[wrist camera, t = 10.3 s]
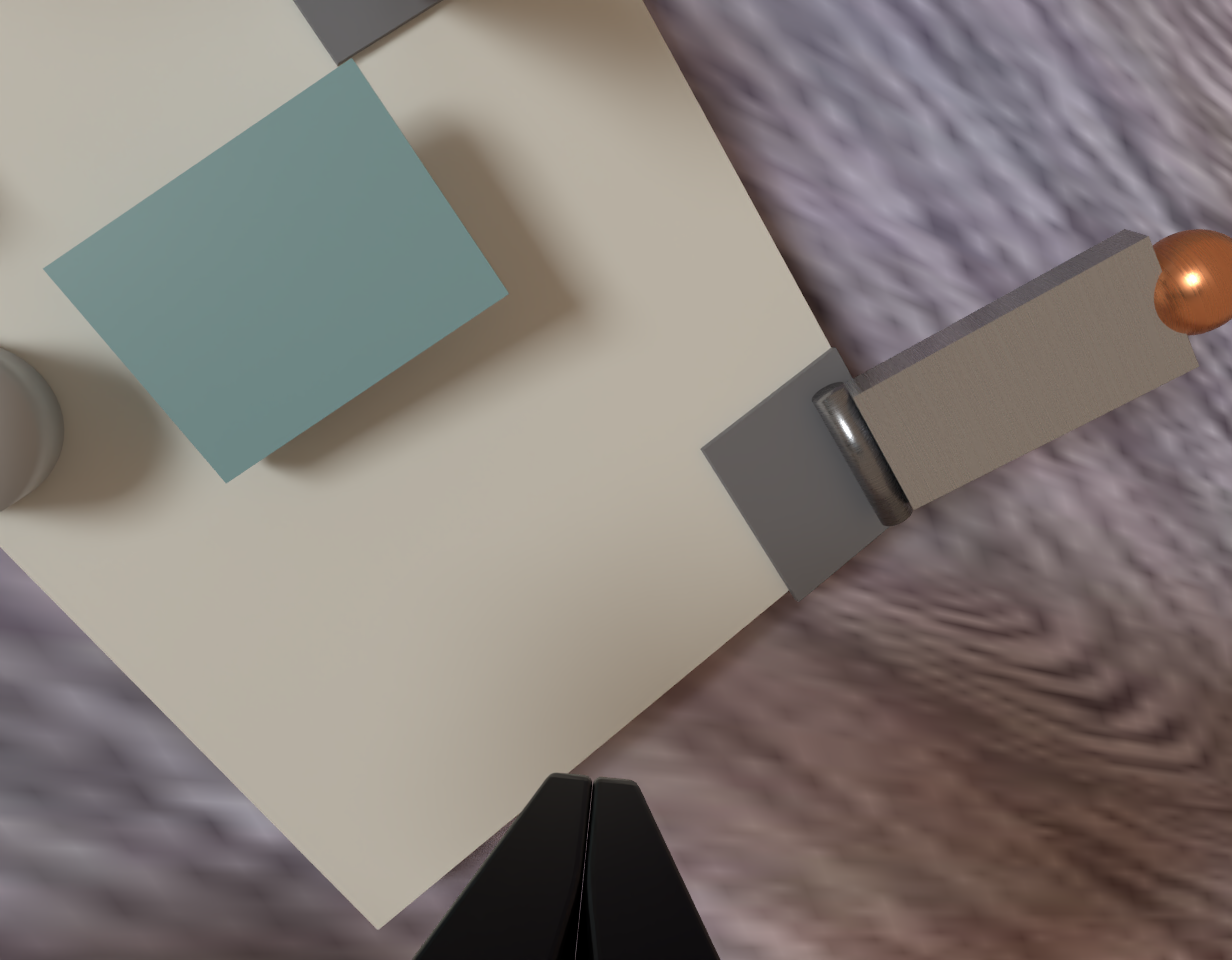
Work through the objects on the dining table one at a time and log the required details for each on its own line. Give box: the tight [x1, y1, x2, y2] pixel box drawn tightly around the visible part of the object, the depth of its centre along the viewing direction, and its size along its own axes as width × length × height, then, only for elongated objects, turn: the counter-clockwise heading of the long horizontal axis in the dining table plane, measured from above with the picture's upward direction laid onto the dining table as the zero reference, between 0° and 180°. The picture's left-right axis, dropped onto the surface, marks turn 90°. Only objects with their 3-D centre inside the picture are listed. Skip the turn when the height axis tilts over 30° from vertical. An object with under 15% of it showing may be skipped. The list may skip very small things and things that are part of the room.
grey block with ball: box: [812, 229, 1232, 526], centre depth 20 cm, size 2×4×9 cm
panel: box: [0, 0, 912, 930], centre depth 18 cm, size 16×20×3 cm
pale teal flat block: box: [43, 58, 509, 483], centre depth 16 cm, size 6×4×1 cm
